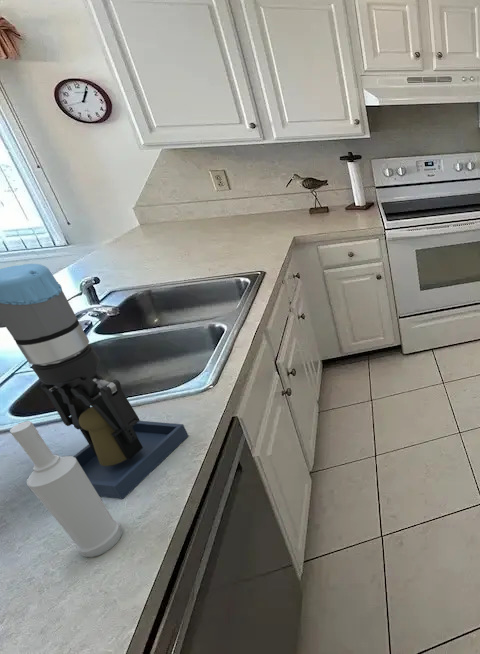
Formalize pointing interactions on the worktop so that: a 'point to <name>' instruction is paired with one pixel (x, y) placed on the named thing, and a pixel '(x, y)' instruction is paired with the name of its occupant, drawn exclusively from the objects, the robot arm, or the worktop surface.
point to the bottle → (68, 494)
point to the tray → (132, 459)
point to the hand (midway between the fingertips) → (119, 451)
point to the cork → (101, 438)
